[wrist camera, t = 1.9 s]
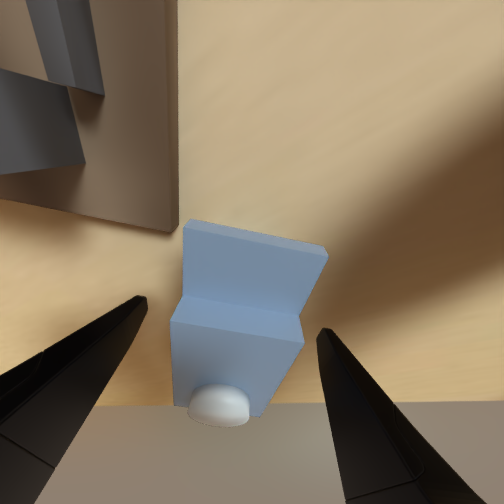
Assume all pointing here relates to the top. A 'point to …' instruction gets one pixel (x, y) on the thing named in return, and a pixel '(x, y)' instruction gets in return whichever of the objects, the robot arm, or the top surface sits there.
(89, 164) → the pocket board
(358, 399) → the robot arm
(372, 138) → the top surface
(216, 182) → the top surface
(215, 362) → the block
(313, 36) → the top surface
